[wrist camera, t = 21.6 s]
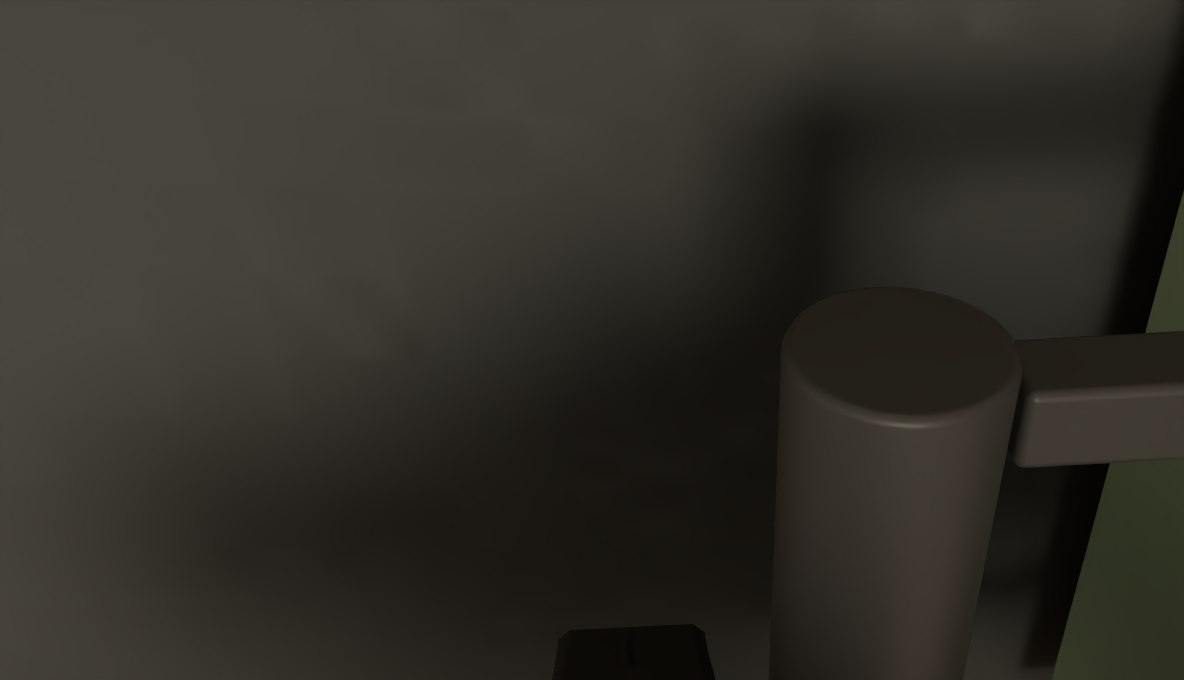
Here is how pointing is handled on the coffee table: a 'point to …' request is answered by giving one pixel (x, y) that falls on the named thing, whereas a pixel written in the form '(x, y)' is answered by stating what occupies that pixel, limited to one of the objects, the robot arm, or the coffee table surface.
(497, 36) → the coffee table surface
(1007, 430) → the drawer
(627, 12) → the coffee table surface
